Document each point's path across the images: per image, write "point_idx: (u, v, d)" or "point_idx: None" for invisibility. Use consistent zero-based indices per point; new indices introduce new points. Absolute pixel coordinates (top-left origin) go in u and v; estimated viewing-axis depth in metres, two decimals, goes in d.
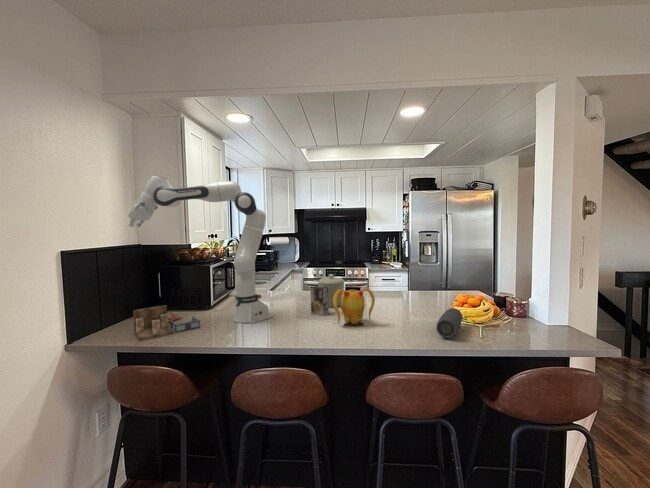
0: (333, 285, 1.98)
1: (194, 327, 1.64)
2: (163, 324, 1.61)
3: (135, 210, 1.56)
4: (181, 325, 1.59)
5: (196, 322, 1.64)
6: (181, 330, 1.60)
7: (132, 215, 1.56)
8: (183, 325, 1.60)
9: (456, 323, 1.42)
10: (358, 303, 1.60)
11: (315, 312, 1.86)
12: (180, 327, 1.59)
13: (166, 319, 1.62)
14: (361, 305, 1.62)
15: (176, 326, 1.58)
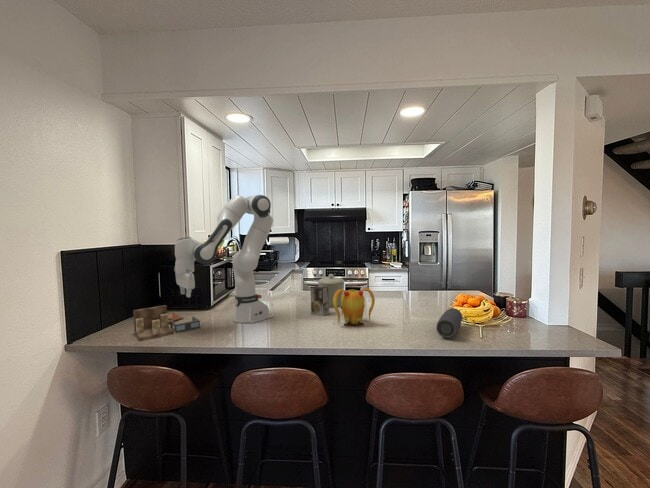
0: (333, 285, 1.98)
1: (194, 327, 1.64)
2: (163, 324, 1.61)
3: (191, 280, 1.53)
4: (181, 325, 1.60)
5: (196, 322, 1.64)
6: (181, 330, 1.60)
7: (191, 286, 1.53)
8: (183, 325, 1.60)
9: (456, 323, 1.42)
10: (358, 303, 1.60)
11: (315, 312, 1.86)
12: (180, 327, 1.59)
13: (166, 319, 1.62)
14: (361, 305, 1.62)
15: (176, 326, 1.58)
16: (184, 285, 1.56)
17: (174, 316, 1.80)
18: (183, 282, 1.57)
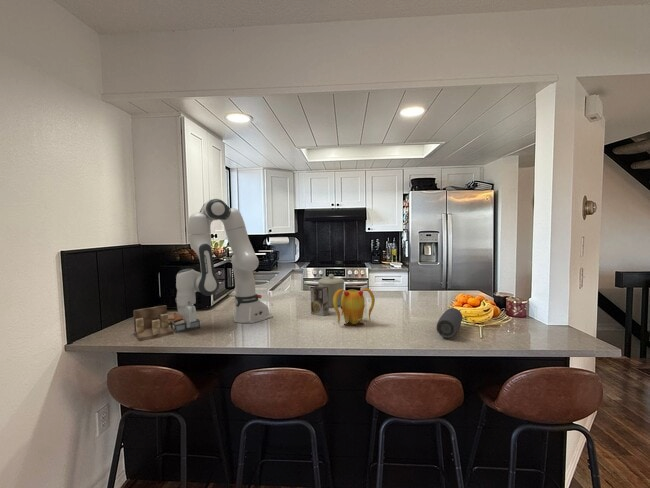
0: (333, 285, 1.98)
1: (194, 327, 1.64)
2: (163, 324, 1.61)
3: (192, 313, 1.54)
4: (181, 325, 1.60)
5: (196, 322, 1.64)
6: (181, 330, 1.60)
7: (193, 319, 1.54)
8: (183, 325, 1.60)
9: (456, 323, 1.42)
10: (358, 303, 1.60)
11: (315, 312, 1.86)
12: (180, 327, 1.59)
13: (166, 319, 1.62)
14: (361, 305, 1.62)
15: (176, 326, 1.58)
16: (186, 317, 1.57)
17: (175, 316, 1.79)
18: (185, 314, 1.58)
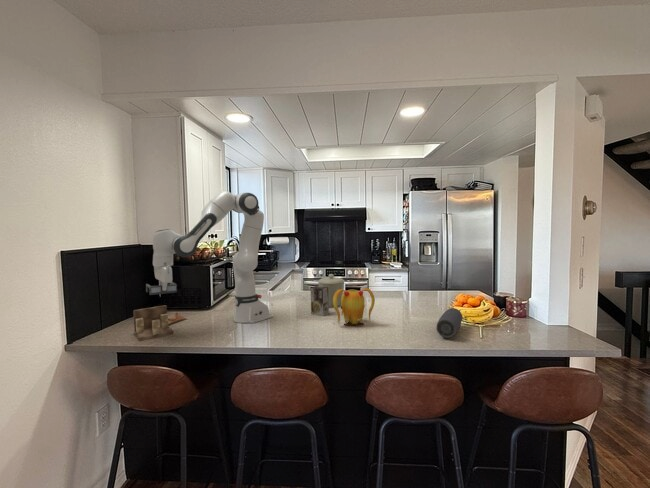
0: (333, 285, 1.98)
1: (171, 291, 1.56)
2: (163, 324, 1.61)
3: (168, 273, 1.47)
4: (156, 287, 1.52)
5: (173, 286, 1.57)
6: (156, 292, 1.52)
7: (168, 280, 1.47)
8: (159, 287, 1.52)
9: (456, 323, 1.42)
10: (358, 303, 1.60)
11: (315, 312, 1.86)
12: (155, 289, 1.51)
13: (166, 319, 1.62)
14: (361, 305, 1.62)
15: (151, 288, 1.50)
16: (161, 279, 1.49)
17: (177, 316, 1.79)
18: (160, 276, 1.51)
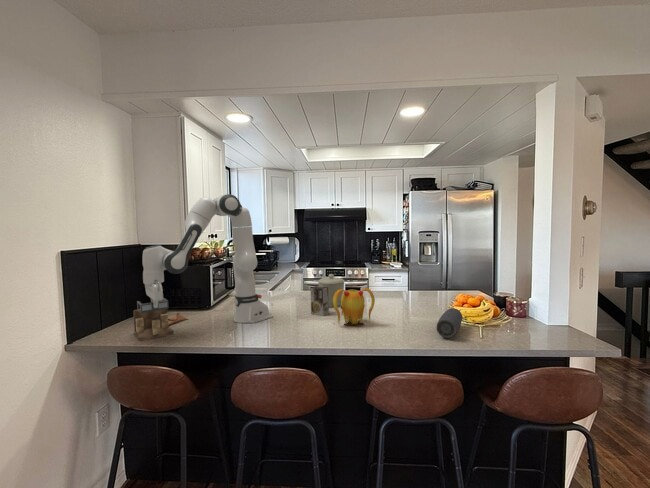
0: (333, 285, 1.98)
1: (162, 307, 1.54)
2: (163, 324, 1.61)
3: (158, 291, 1.44)
4: (147, 305, 1.49)
5: (164, 302, 1.54)
6: (147, 310, 1.50)
7: (159, 297, 1.44)
8: (149, 305, 1.50)
9: (456, 323, 1.42)
10: (358, 303, 1.60)
11: (315, 312, 1.86)
12: (146, 307, 1.49)
13: (166, 319, 1.62)
14: (361, 305, 1.62)
15: (142, 305, 1.48)
16: (152, 296, 1.47)
17: (178, 317, 1.79)
18: (151, 293, 1.48)
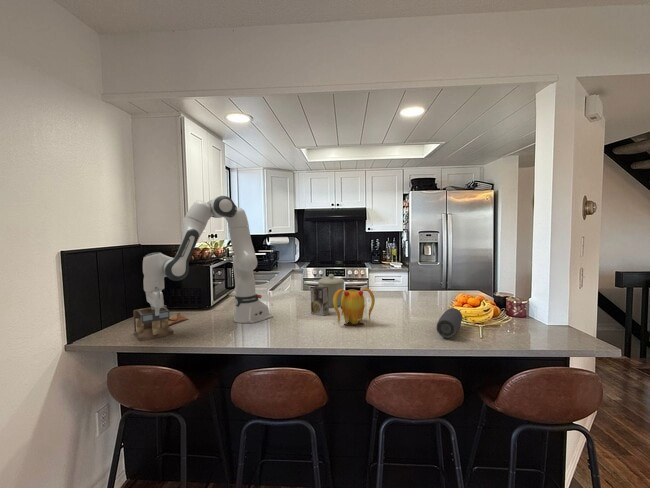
0: (333, 285, 1.98)
1: (163, 317, 1.54)
2: (163, 324, 1.61)
3: (159, 298, 1.44)
4: (148, 315, 1.50)
5: (165, 312, 1.55)
6: (148, 320, 1.50)
7: (159, 305, 1.45)
8: (150, 315, 1.50)
9: (456, 323, 1.42)
10: (358, 303, 1.60)
11: (315, 312, 1.86)
12: (147, 317, 1.49)
13: (166, 319, 1.62)
14: (361, 305, 1.62)
15: (142, 316, 1.48)
16: (152, 304, 1.47)
17: (179, 317, 1.78)
18: (152, 300, 1.48)
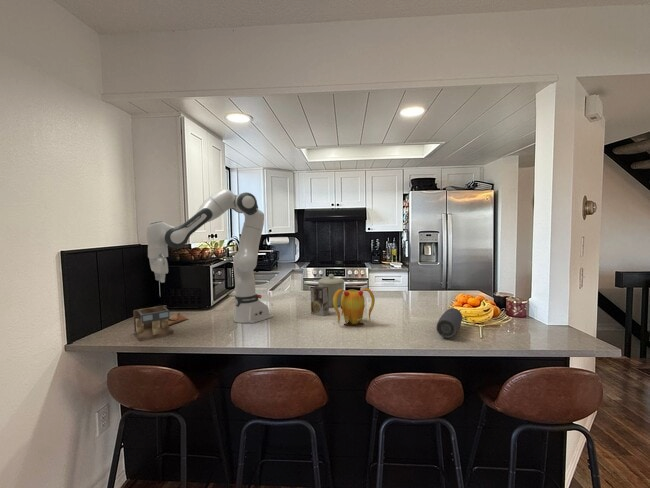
0: (333, 285, 1.98)
1: (163, 317, 1.54)
2: (163, 324, 1.61)
3: (163, 264, 1.50)
4: (148, 315, 1.50)
5: (165, 312, 1.55)
6: (148, 320, 1.50)
7: (164, 270, 1.50)
8: (150, 315, 1.50)
9: (456, 323, 1.42)
10: (358, 303, 1.61)
11: (315, 312, 1.86)
12: (147, 317, 1.49)
13: (166, 319, 1.62)
14: (361, 305, 1.62)
15: (142, 316, 1.48)
16: (157, 270, 1.53)
17: (179, 317, 1.78)
18: (156, 267, 1.54)
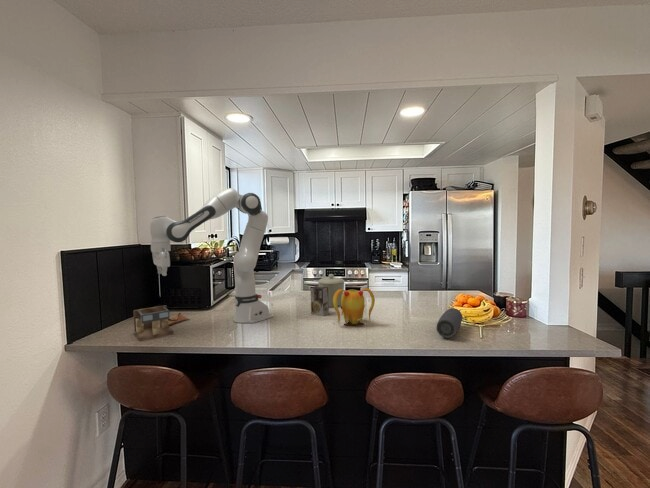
0: (333, 285, 1.98)
1: (163, 317, 1.54)
2: (163, 324, 1.61)
3: (165, 258, 1.53)
4: (148, 315, 1.50)
5: (165, 312, 1.55)
6: (148, 320, 1.50)
7: (166, 264, 1.53)
8: (150, 315, 1.50)
9: (456, 323, 1.42)
10: (358, 303, 1.60)
11: (315, 312, 1.86)
12: (147, 317, 1.49)
13: (166, 319, 1.62)
14: (361, 305, 1.62)
15: (142, 316, 1.48)
16: (159, 263, 1.56)
17: (179, 317, 1.78)
18: (159, 261, 1.57)
